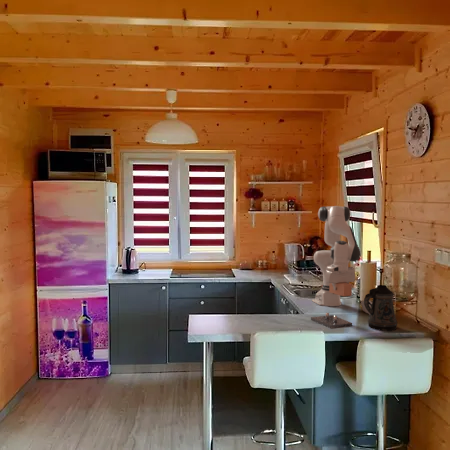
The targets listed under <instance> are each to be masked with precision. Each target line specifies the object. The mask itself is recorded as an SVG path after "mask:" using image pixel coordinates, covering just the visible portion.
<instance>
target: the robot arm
mask: <svg viewBox="0 0 450 450" xmlns="http://www.w3.org/2000/svg"><path fill="white" fill-rule="evenodd" d="M351 214H352V213H351V209H350V208H349V207H348V206H342V205H334V206H333V205H331V206H320V208H319V209H318V212H317V217H318V220H320V221H321V222H325V223H324V232H323V233H324V239H323V240H324V242H325V244H326V245H327V246H330V249H329V250H325V249H323V250H316V251H315V252H314V254H313V262H314V263H315V264H316V265H317V266H318V267H319V269H320V270H321V272H322V276H323V277H322V281H323V282H322V284H321V288H320V290H318V291H317V292H316V294H315V298H313V299H312V300H311V301H312V302H313V303H315V304H317V305H319V306H326V307H338V306H341V305H342V304H343V303H342V301H341V295H337V294H334V293H330V292H329V285H330V283H332V285H333V287H334V290H337V287H336V286H335V285H336V283H343V282H345V283H349V284H350V283H355V281H356V274H355V268H354V267H352V266H349V263H350V262H353V263H354V262H355V263H356V262H357V261H359V260H360V259H361V255H362V254H361V250H360V247H359V245H358V242H357V240H356V237H355V234H354V233H355V232H354V230H353V228H352V226H350V225H349V224H348V223H347V222H348V221H349V220H350V217H351ZM341 236H343V237H345V238H347V240H348V241H345V240H341ZM348 244H349V245H348Z"/></svg>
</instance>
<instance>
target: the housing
mask: <svg viewBox="0 0 450 450" xmlns="http://www.w3.org/2000/svg"><path fill="white" fill-rule="evenodd" d="M335 286H336V287H337V290H334V287H333V285H332V283H330V285H329V292H330V293H334V294H337V295H340V297H352V295H353V293H352V292H353V291H352V289H353V284H352V283H350V282H349V283H345V282H343V283H336V285H335Z"/></svg>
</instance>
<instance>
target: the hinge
mask: <svg viewBox="0 0 450 450" xmlns="http://www.w3.org/2000/svg"><path fill="white" fill-rule="evenodd" d="M360 304H361V305H360V306H361V309H362V311H363V312H365V313H366V314H368V315H369V316H370V313H369V312H368V311H367V309H366V308H365V305H364V300H362V301H360ZM369 306H370V308H371V306H372V300H369Z"/></svg>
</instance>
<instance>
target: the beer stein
mask: <svg viewBox="0 0 450 450" xmlns="http://www.w3.org/2000/svg"><path fill="white" fill-rule="evenodd" d="M394 295H395V294H394V292H393V291H392V290H390V289H389V288H388V286H387V285H385V284H378V285H377V287H375V288H371V289H369V292H368V293H367V294H365V296H364V299H363V301H364V305H365V308H366V309H367V311H368V312H369V313H370V315H369V316H368V317H369V318H368V320H367V323H368V327H369V328H370V329H372V330H376V331H381V332H393V331H392V330H394V331H396V330H395V329H397V328H398V327H397V326H398V321H397V318H396V314H395V309H394V307H395V306H394V300H393V298H394ZM371 299H372V300H371ZM369 301H371V302H372V306H371V308H370V306H369Z"/></svg>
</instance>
